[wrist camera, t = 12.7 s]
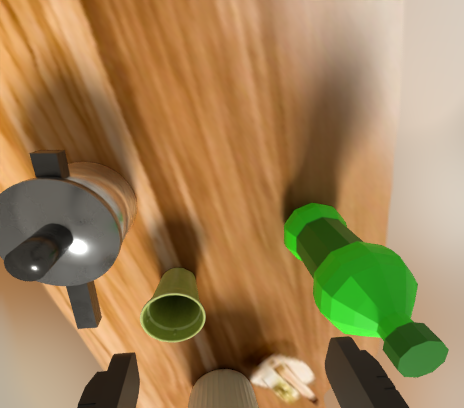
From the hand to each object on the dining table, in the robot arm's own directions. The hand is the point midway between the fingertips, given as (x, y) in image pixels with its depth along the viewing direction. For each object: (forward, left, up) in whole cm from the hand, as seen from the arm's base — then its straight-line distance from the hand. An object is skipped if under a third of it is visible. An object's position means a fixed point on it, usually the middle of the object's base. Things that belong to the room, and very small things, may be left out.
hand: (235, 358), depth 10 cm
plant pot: (+20, -6, -30) cm, 37 cm away
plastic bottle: (+9, +16, -30) cm, 35 cm away
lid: (+5, -18, -21) cm, 28 cm away
